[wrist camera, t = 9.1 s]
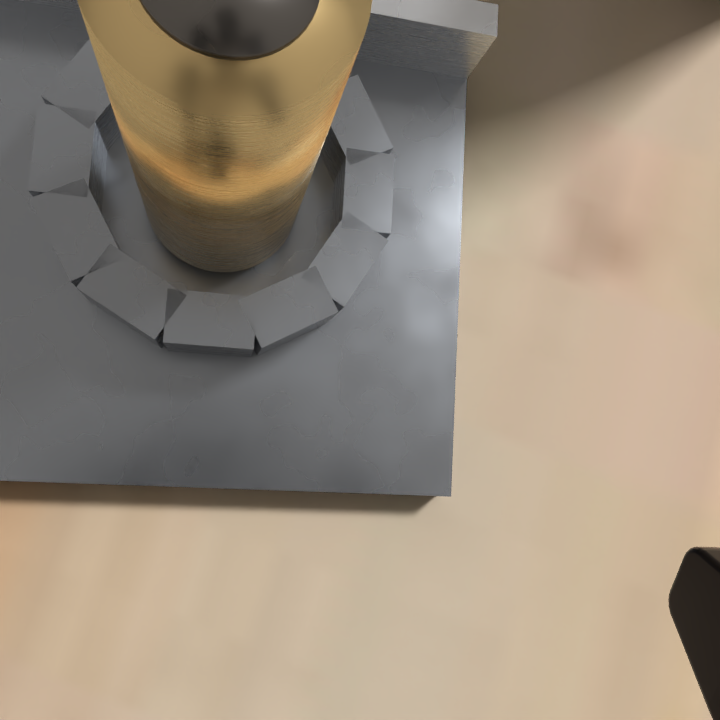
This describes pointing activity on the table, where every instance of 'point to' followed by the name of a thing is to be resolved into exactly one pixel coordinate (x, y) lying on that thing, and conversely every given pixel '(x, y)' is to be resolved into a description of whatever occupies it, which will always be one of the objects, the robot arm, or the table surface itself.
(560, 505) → the table surface
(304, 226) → the jig
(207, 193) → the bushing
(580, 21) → the table surface
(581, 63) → the table surface
